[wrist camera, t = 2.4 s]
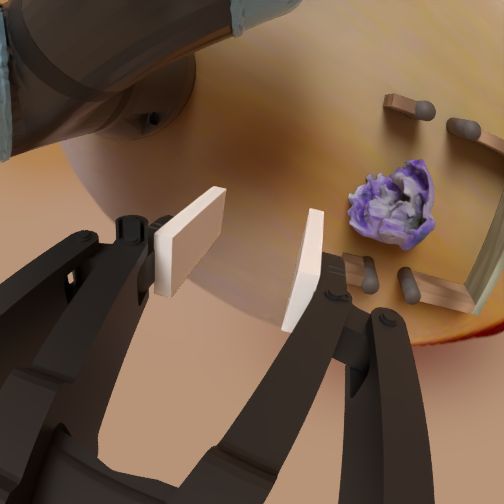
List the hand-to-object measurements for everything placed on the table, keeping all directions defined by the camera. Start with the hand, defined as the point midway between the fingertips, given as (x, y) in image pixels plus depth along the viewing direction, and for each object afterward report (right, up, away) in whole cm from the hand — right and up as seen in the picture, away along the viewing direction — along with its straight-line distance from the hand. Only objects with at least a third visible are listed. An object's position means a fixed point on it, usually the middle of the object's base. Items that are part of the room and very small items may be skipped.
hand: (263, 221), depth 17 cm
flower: (+15, +4, +14) cm, 21 cm away
